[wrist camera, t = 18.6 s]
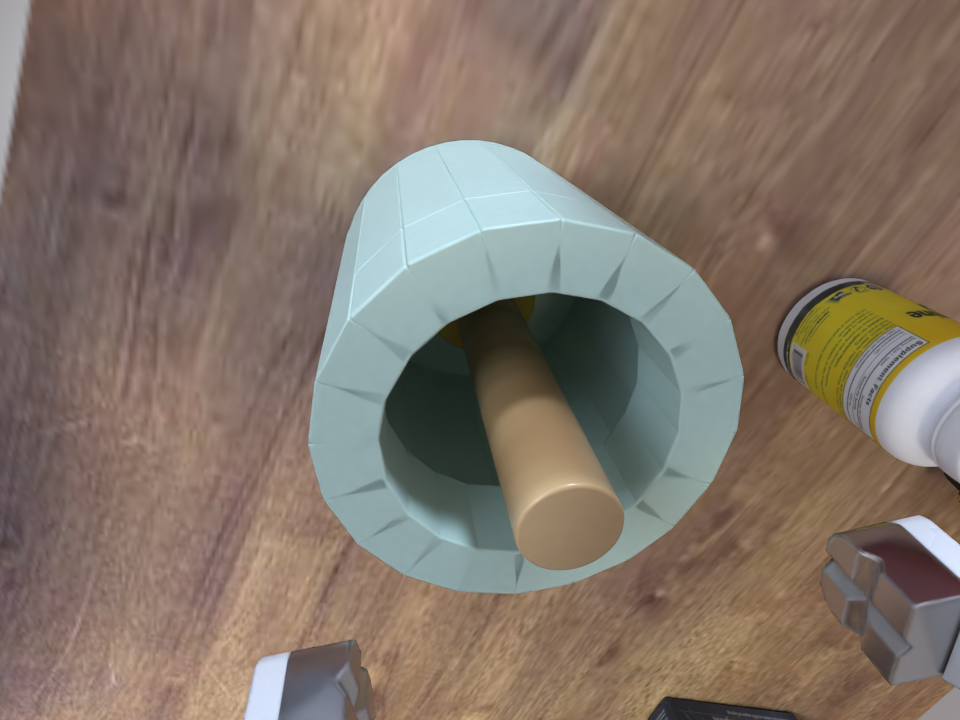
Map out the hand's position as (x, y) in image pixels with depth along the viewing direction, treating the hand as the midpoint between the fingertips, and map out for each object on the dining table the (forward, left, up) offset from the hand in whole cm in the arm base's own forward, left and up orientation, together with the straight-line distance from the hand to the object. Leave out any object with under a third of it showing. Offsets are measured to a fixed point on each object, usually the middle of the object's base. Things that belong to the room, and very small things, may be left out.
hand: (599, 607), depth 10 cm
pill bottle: (+20, 0, -20) cm, 28 cm away
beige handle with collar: (0, -1, -19) cm, 19 cm away
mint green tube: (0, 0, -20) cm, 20 cm away
